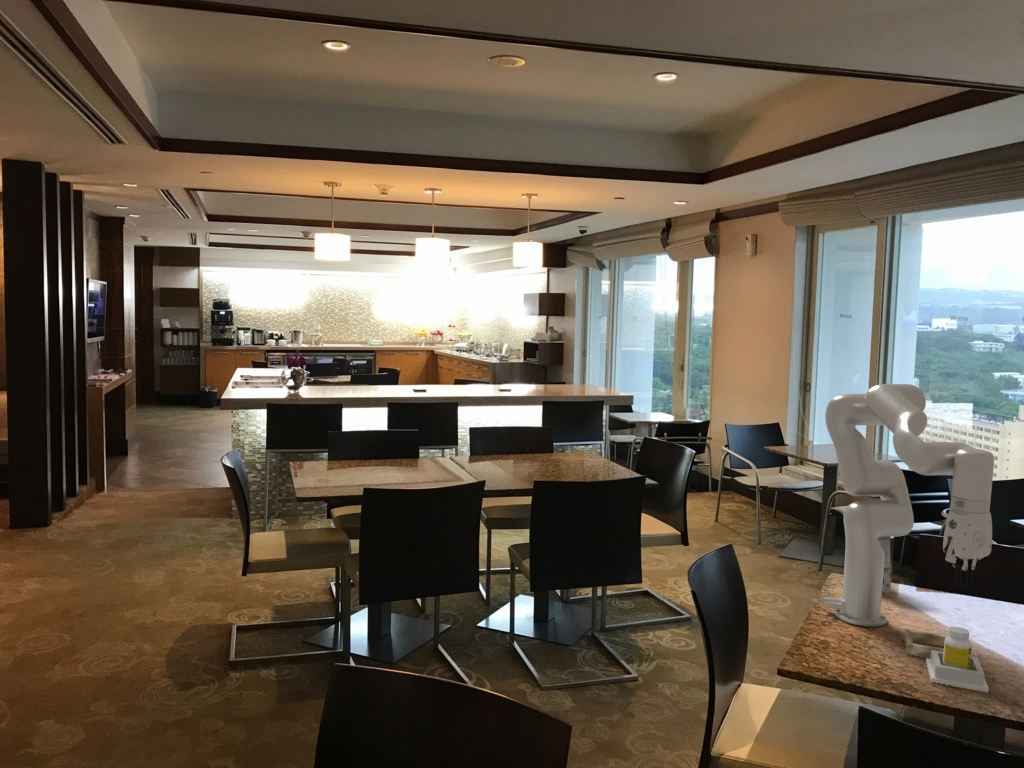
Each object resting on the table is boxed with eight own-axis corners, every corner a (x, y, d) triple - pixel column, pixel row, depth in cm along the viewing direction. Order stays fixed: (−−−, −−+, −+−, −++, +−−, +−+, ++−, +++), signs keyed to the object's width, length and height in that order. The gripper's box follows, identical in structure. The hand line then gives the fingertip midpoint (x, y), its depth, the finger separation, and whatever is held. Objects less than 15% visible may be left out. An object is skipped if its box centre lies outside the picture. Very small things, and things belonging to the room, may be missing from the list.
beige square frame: (907, 654, 190) (908, 644, 190) (904, 638, 200) (904, 628, 200) (956, 663, 187) (957, 652, 186) (951, 646, 196) (951, 636, 196)
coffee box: (891, 593, 233) (895, 539, 231) (870, 593, 232) (874, 539, 231) (874, 582, 242) (878, 530, 240) (854, 582, 241) (858, 530, 240)
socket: (930, 682, 176) (932, 666, 176) (925, 662, 186) (927, 647, 186) (988, 692, 172) (989, 676, 172) (979, 671, 182) (981, 656, 182)
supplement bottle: (971, 679, 176) (975, 636, 175) (944, 675, 178) (947, 632, 177) (966, 669, 181) (970, 627, 180) (939, 665, 183) (943, 623, 182)
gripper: (961, 512, 169) (953, 595, 171) (1009, 507, 175) (1001, 587, 177) (930, 503, 176) (923, 583, 178) (977, 498, 182) (970, 576, 184)
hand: (962, 585), depth 178 cm, fingers closed
